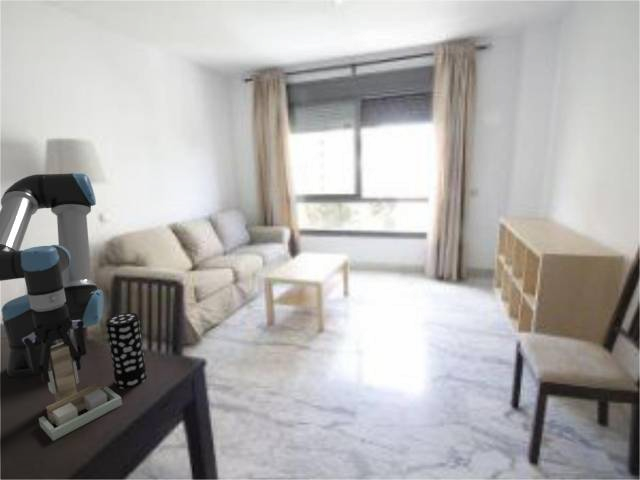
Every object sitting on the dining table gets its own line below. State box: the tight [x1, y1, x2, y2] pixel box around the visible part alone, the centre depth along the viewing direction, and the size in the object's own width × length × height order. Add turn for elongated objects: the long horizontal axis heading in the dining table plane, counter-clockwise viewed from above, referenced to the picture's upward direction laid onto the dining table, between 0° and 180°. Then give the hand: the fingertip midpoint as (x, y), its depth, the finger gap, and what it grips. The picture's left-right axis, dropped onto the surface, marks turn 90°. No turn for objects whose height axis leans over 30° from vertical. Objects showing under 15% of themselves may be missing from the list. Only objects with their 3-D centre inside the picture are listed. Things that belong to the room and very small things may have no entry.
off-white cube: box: [52, 403, 79, 428], centre depth 92 cm, size 4×4×4 cm
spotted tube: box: [105, 312, 148, 389], centre depth 108 cm, size 8×8×20 cm
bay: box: [38, 385, 123, 442], centre depth 95 cm, size 8×16×2 cm, turn 143°
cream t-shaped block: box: [45, 341, 103, 426], centre depth 98 cm, size 10×12×16 cm
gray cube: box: [84, 388, 109, 412], centre depth 98 cm, size 4×4×4 cm
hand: (64, 386), depth 100 cm, fingers open, 5 cm apart
